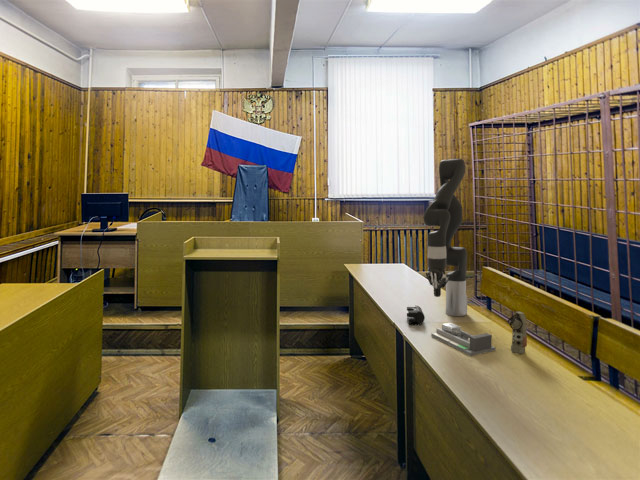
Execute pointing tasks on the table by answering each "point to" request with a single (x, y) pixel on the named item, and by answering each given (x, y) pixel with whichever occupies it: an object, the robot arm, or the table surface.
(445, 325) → the grey textured block
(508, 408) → the table surface
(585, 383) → the table surface
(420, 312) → the end cap
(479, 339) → the gauge board
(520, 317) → the grenade model
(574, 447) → the table surface
